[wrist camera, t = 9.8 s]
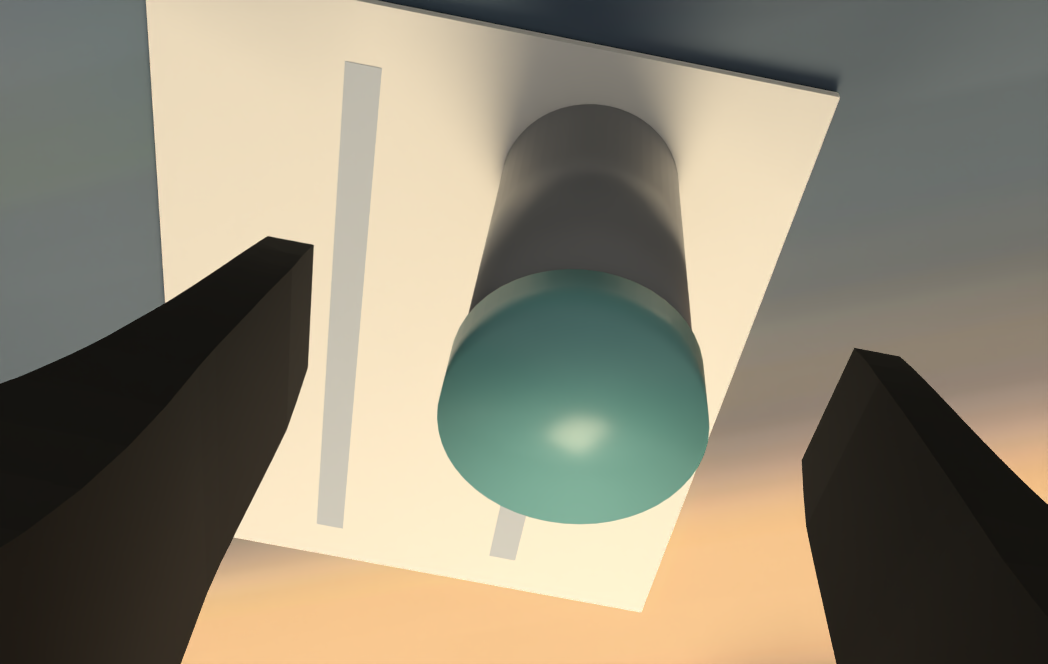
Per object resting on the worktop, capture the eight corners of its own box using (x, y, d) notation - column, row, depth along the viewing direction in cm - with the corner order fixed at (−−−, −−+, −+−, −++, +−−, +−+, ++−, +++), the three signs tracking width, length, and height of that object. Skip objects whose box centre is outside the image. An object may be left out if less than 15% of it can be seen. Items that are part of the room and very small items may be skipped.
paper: (641, 605, 23) (641, 612, 23) (182, 521, 23) (179, 527, 22) (837, 92, 15) (840, 97, 15) (148, -46, 15) (142, -42, 15)
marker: (658, 282, 17) (670, 543, 12) (483, 249, 17) (424, 498, 12) (707, 119, 15) (745, 348, 10) (511, 81, 15) (454, 292, 10)
